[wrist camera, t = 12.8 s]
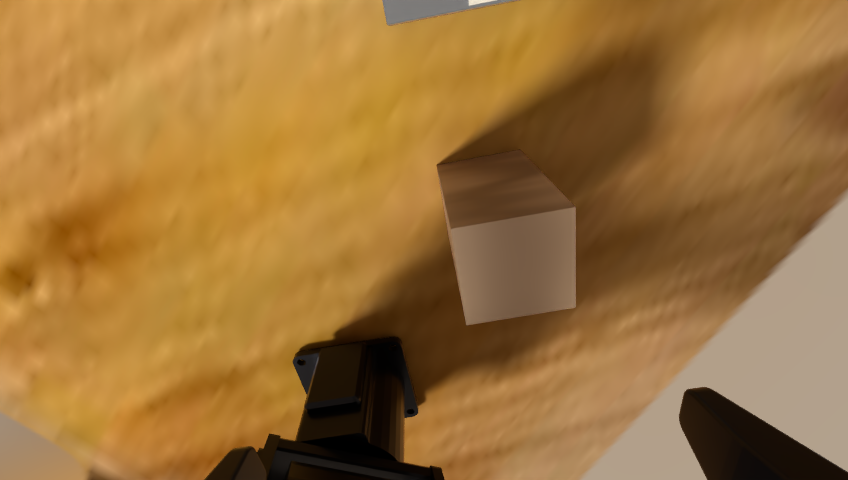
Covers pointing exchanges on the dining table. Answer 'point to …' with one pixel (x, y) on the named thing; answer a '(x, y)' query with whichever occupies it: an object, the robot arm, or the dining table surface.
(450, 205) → the beige rectangular prism
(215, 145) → the dining table surface
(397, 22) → the grey stepped square base
